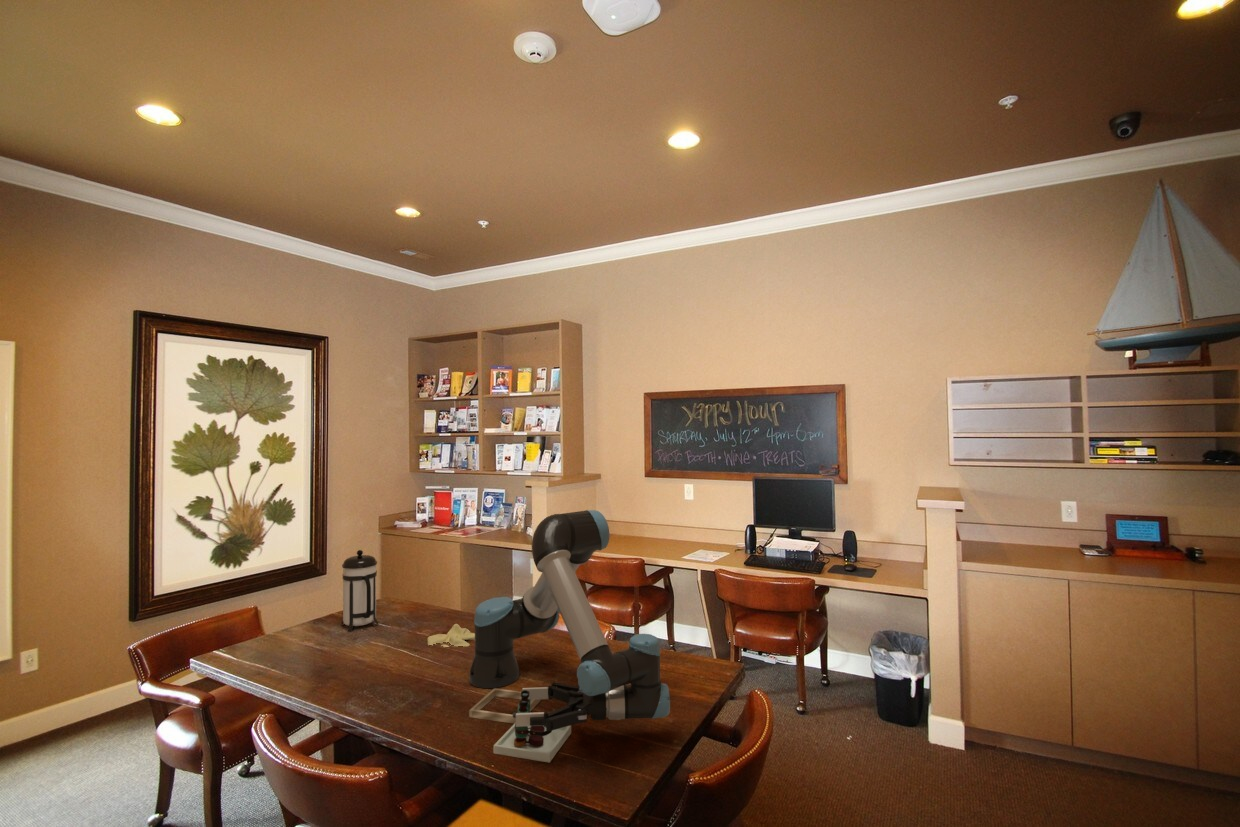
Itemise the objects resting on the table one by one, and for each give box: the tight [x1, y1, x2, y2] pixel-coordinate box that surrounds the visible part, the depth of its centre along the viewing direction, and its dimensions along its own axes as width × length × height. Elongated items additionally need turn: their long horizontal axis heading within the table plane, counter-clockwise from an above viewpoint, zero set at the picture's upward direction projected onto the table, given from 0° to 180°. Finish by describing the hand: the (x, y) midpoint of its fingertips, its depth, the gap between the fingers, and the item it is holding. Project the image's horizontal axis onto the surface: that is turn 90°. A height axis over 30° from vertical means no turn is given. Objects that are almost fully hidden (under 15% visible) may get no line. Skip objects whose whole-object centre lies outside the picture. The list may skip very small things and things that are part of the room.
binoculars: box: [512, 690, 553, 747], centre depth 140 cm, size 9×11×10 cm
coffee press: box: [340, 549, 379, 632], centre depth 228 cm, size 17×16×30 cm
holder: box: [468, 688, 542, 725], centre depth 157 cm, size 15×14×2 cm
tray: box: [493, 722, 572, 763], centre depth 139 cm, size 14×13×2 cm
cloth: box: [426, 623, 475, 648], centre depth 211 cm, size 22×19×6 cm
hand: (519, 706), depth 139 cm, fingers open, 13 cm apart
